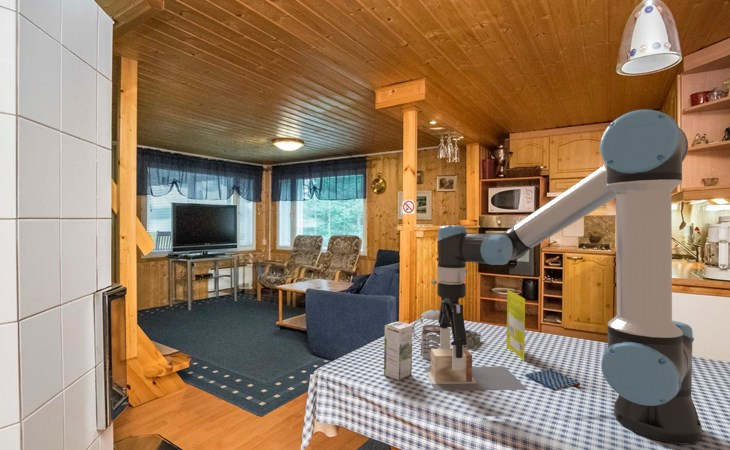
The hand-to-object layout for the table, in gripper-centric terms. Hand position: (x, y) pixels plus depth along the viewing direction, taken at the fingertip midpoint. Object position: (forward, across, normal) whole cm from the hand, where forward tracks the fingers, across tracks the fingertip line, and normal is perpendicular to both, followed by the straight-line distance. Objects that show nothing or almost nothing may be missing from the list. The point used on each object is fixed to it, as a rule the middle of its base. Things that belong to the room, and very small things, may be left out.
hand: (451, 359), depth 105 cm
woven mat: (+7, -2, -27) cm, 28 cm away
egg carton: (+6, +32, -14) cm, 35 cm away
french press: (+6, +17, +2) cm, 18 cm away
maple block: (+5, 0, 0) cm, 5 cm away
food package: (+6, +19, -26) cm, 33 cm away
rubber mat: (+6, 0, -6) cm, 8 cm away
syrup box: (+6, +4, +14) cm, 16 cm away
